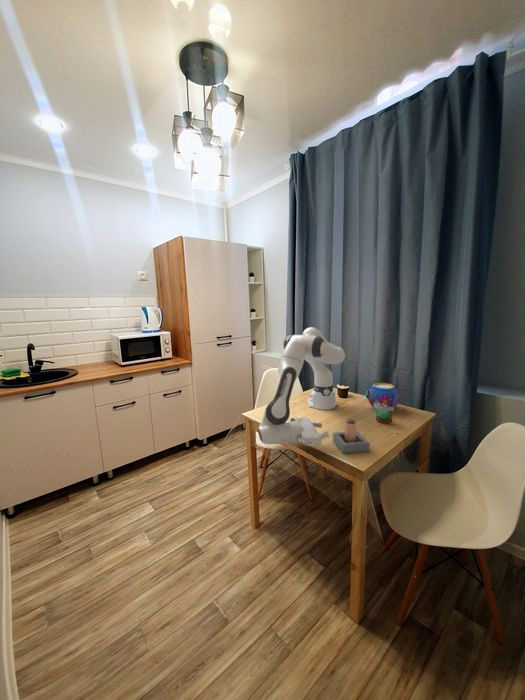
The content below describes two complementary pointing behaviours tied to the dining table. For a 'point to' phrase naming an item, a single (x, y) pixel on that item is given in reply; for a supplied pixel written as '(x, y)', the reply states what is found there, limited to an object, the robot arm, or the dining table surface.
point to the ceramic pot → (383, 394)
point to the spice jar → (350, 430)
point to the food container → (383, 412)
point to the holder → (351, 443)
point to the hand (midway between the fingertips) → (324, 429)
